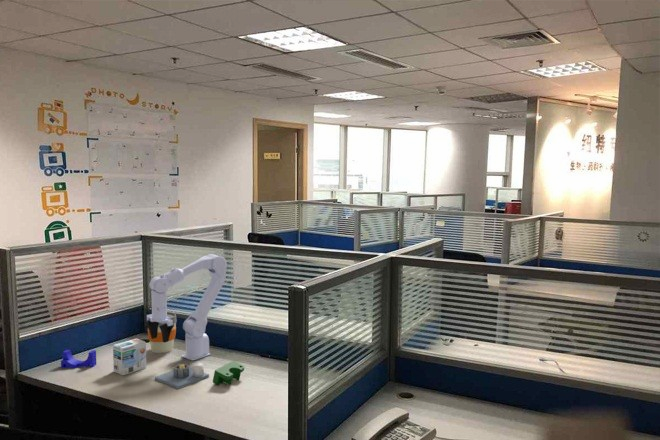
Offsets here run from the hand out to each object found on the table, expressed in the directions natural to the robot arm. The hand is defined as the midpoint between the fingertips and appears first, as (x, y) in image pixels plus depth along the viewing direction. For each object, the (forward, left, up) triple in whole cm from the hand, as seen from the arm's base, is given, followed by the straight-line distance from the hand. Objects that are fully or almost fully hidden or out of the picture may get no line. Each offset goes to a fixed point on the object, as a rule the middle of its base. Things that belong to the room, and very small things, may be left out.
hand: (159, 340), depth 210 cm
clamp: (-5, +35, -10) cm, 37 cm away
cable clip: (+21, -23, -10) cm, 33 cm away
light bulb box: (+11, -4, -10) cm, 16 cm away
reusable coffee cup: (-11, -14, -10) cm, 20 cm away
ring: (+4, +19, -9) cm, 21 cm away
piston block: (+4, +19, -10) cm, 22 cm away
